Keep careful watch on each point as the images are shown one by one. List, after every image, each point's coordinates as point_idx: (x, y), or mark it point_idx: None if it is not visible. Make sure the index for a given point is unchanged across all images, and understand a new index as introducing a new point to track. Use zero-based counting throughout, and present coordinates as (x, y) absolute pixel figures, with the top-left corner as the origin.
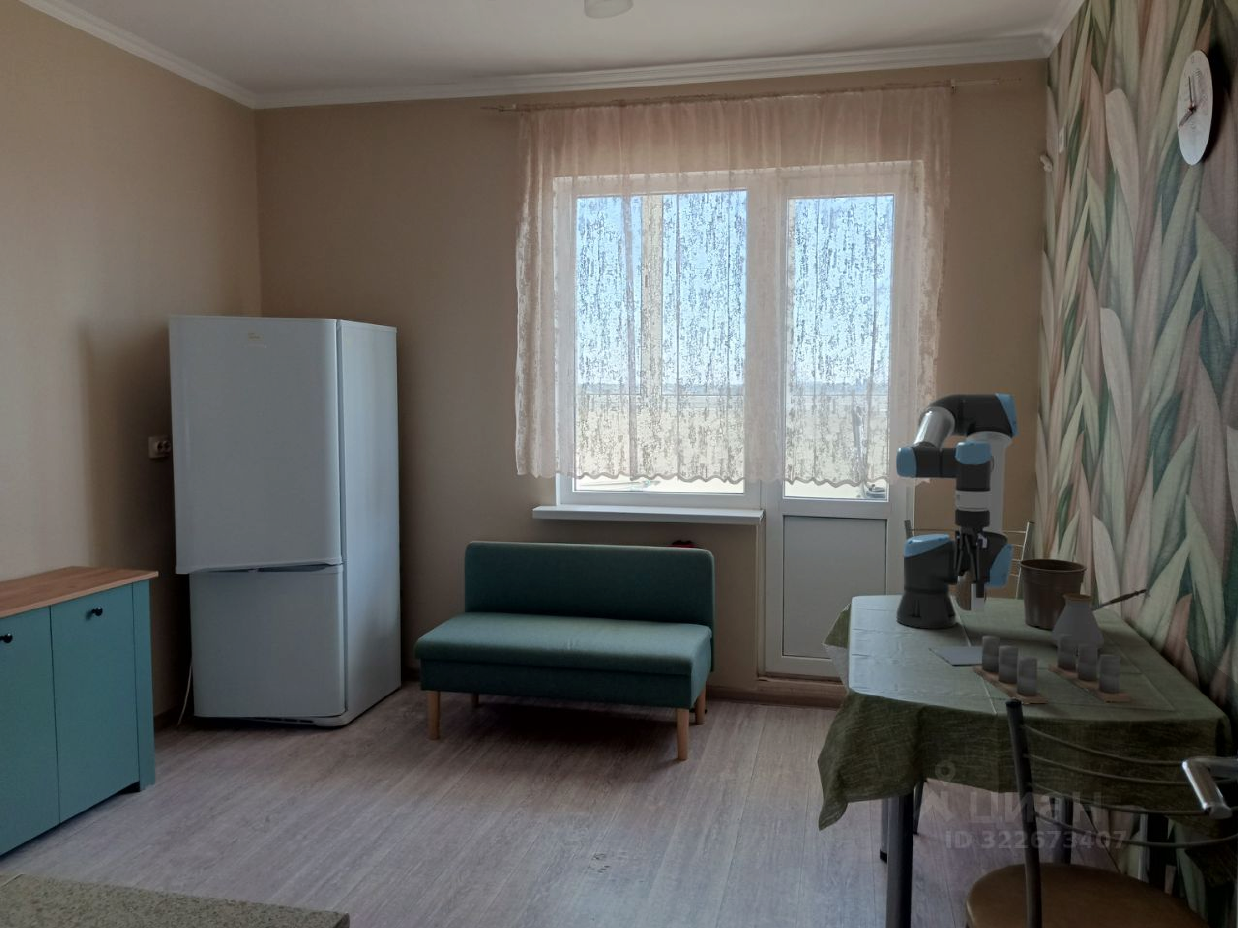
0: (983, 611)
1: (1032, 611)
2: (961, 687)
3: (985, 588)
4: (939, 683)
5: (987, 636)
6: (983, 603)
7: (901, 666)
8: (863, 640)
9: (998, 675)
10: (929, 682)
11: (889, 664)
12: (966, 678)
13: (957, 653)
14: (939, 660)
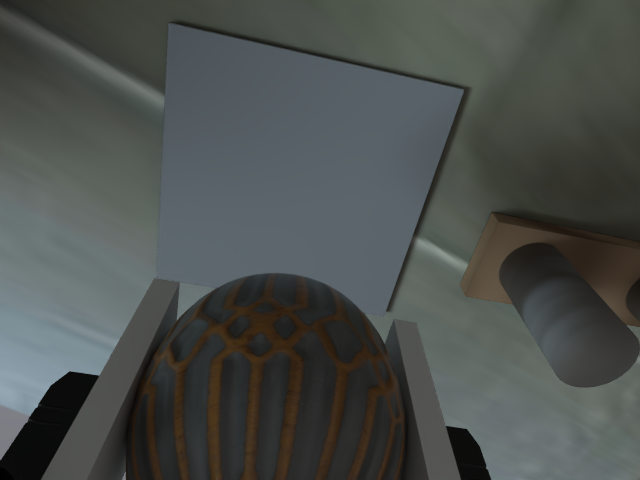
0: (414, 326)
1: None
2: (566, 391)
3: (370, 404)
4: (507, 418)
5: (568, 359)
6: (426, 370)
7: None
8: (28, 402)
9: (597, 285)
10: (487, 433)
11: None
12: (511, 341)
13: (265, 228)
14: None
